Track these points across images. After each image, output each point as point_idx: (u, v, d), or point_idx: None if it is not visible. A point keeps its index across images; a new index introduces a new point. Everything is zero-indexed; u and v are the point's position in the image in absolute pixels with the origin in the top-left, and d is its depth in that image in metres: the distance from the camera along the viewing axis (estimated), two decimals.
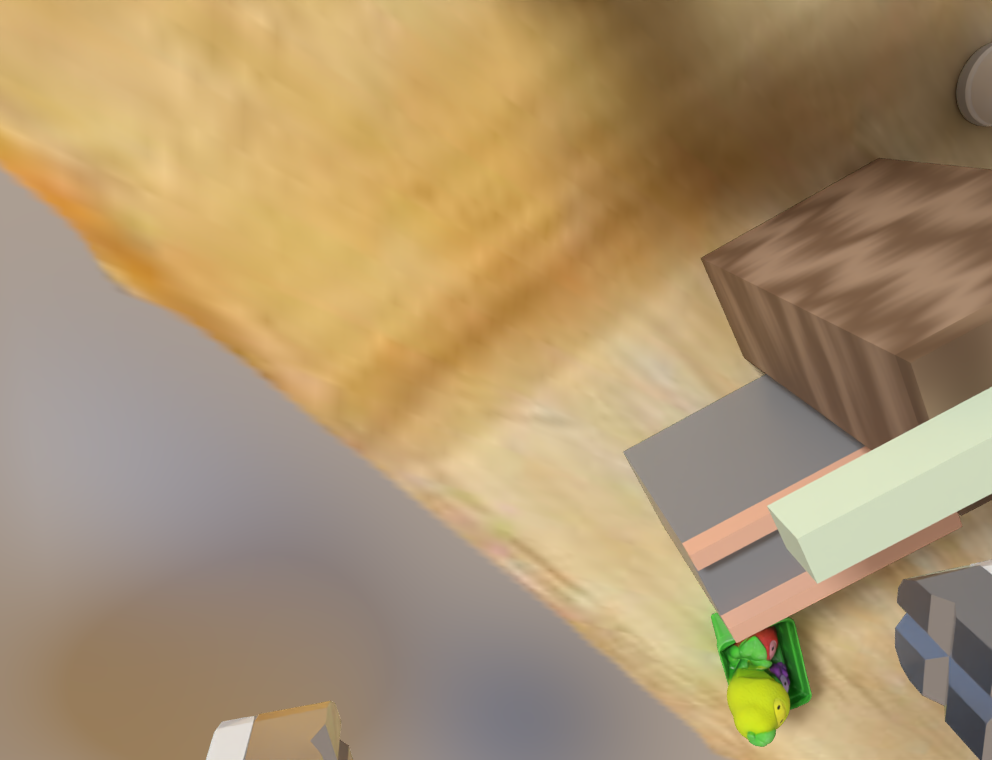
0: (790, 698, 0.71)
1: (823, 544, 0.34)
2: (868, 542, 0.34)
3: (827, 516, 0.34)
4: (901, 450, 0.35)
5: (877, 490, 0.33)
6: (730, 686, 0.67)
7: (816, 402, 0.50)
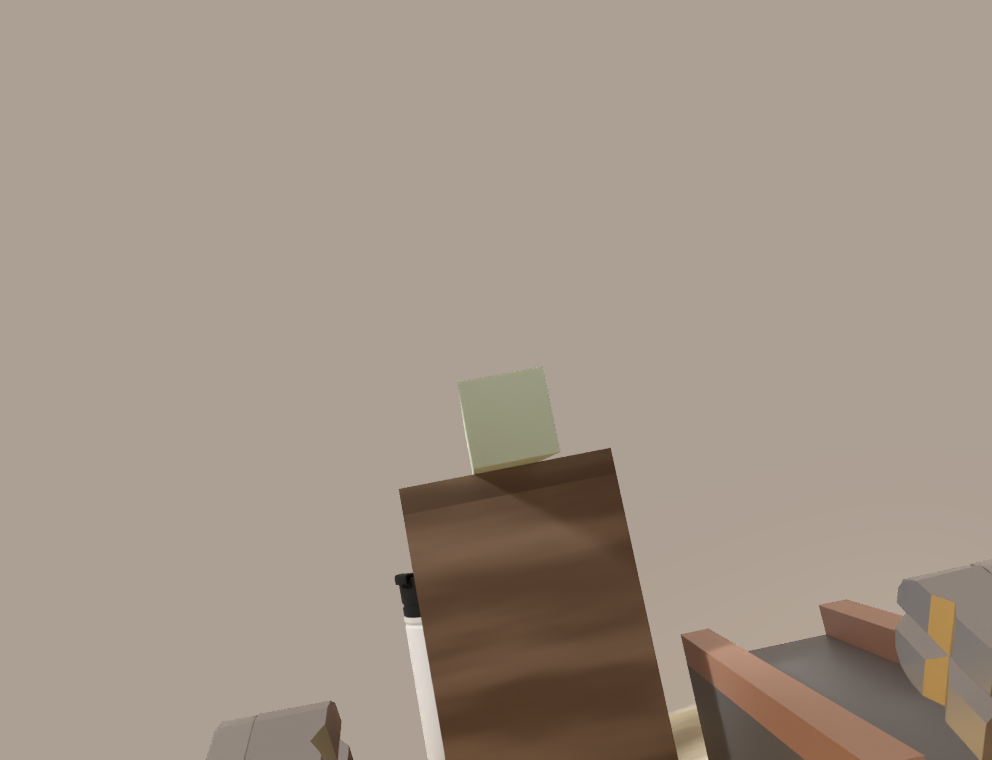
0: None
1: None
2: None
3: (460, 399, 0.26)
4: (469, 450, 0.31)
5: (461, 407, 0.29)
6: None
7: (655, 759, 0.31)
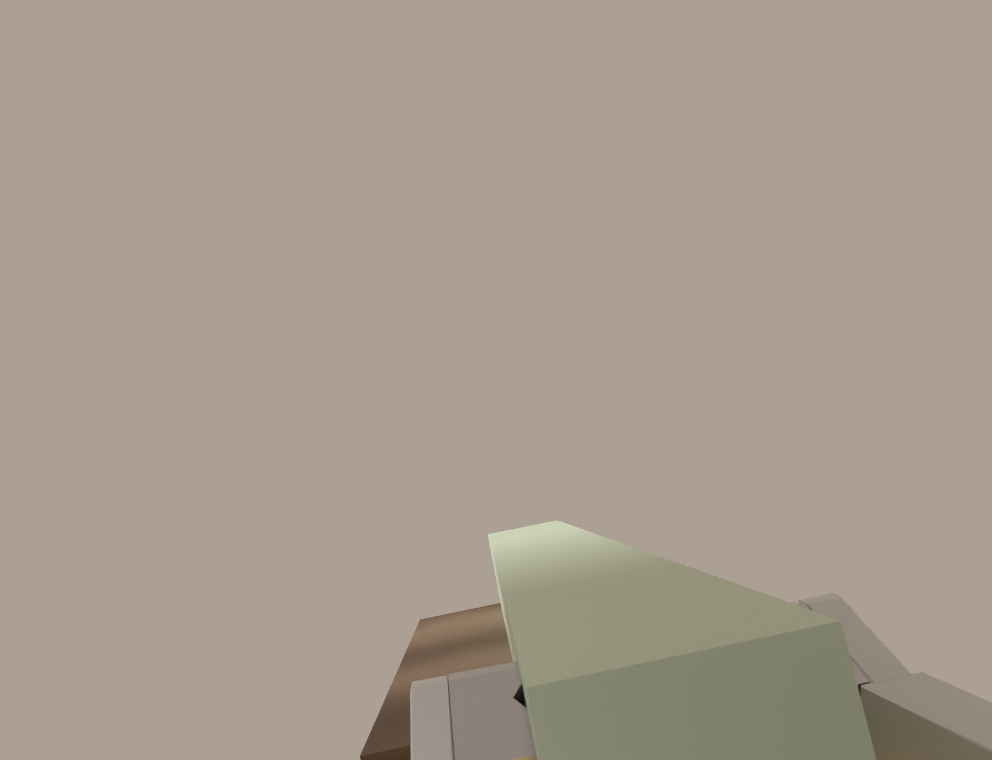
0: None
1: (613, 642, 0.08)
2: (670, 594, 0.10)
3: (522, 679, 0.08)
4: None
5: (511, 634, 0.11)
6: None
7: None
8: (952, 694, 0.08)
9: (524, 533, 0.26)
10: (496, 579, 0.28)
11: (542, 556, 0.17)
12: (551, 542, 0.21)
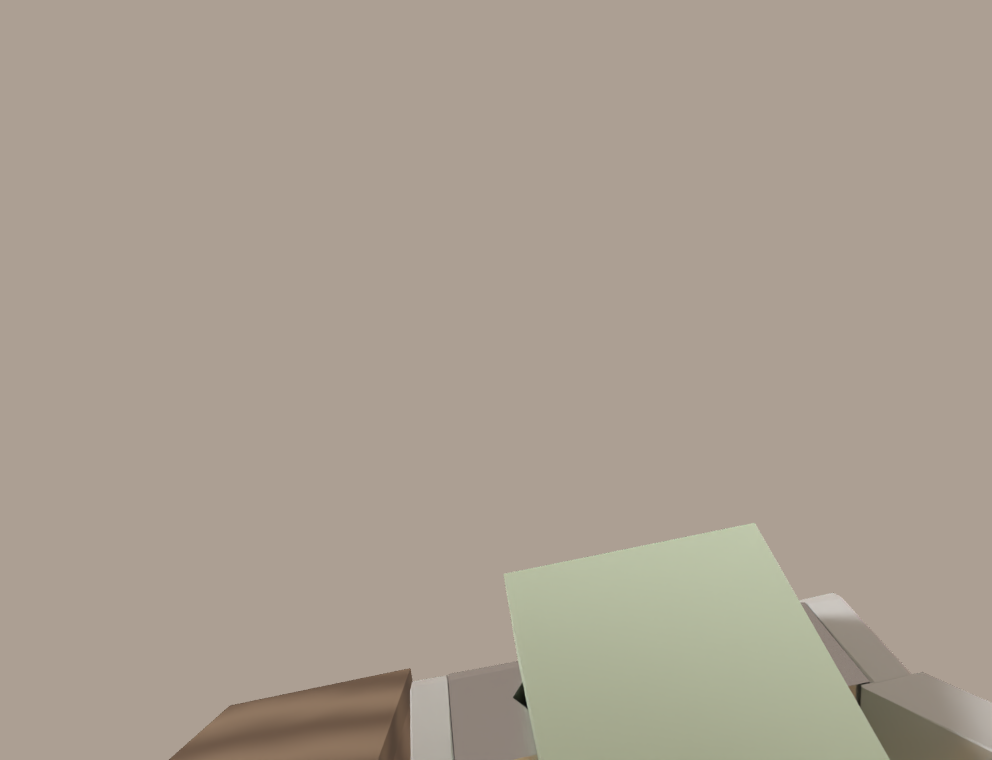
0: None
1: None
2: None
3: (522, 680, 0.09)
4: None
5: None
6: None
7: None
8: (952, 694, 0.08)
9: None
10: None
11: None
12: None
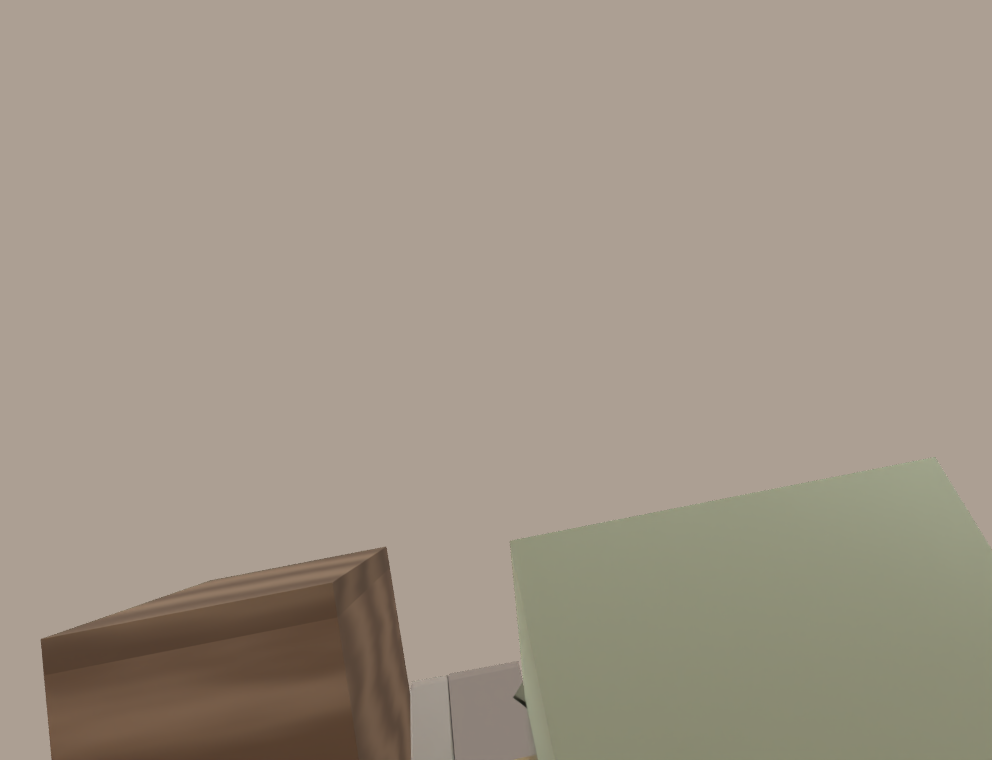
0: None
1: None
2: None
3: (525, 661, 0.06)
4: None
5: (530, 718, 0.08)
6: None
7: None
8: None
9: None
10: None
11: None
12: None
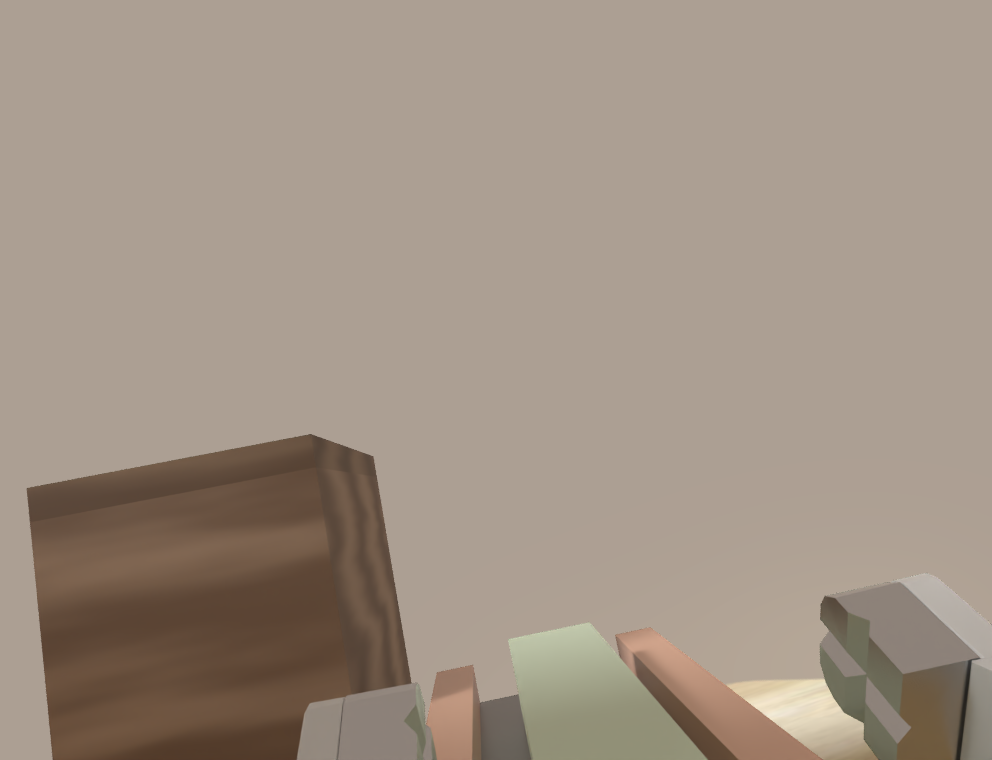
0: None
1: None
2: None
3: None
4: None
5: None
6: None
7: None
8: None
9: (555, 656, 0.22)
10: None
11: None
12: (601, 712, 0.16)
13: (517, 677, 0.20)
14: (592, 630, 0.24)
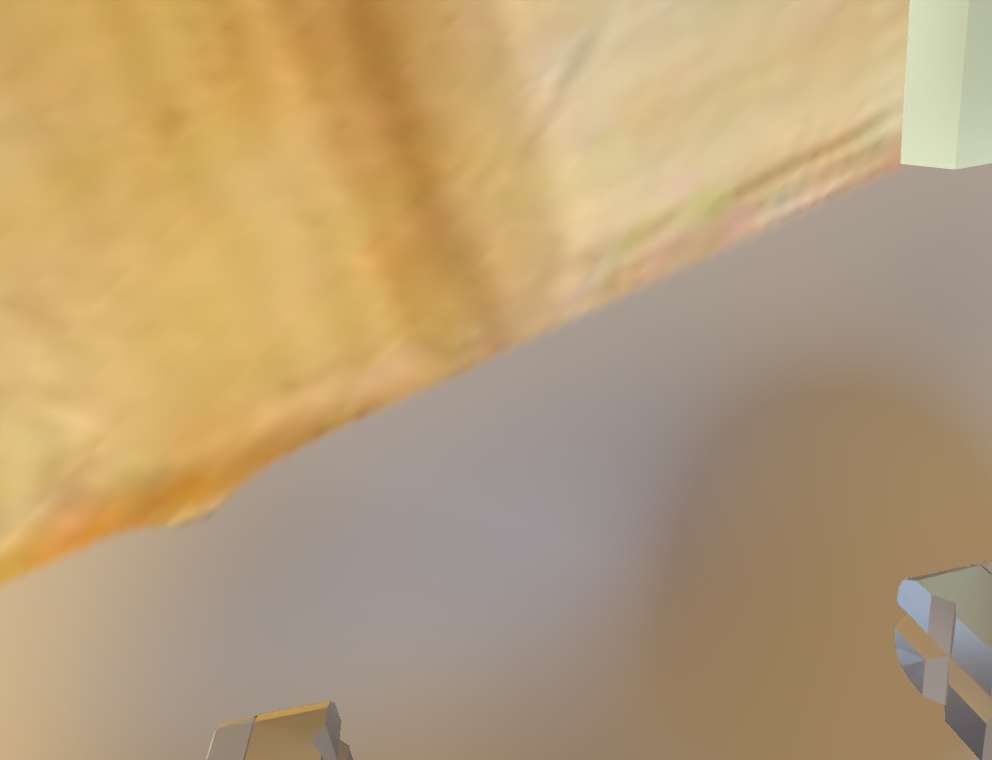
0: None
1: (984, 135, 0.25)
2: None
3: (952, 116, 0.25)
4: None
5: (958, 35, 0.24)
6: None
7: None
8: None
9: None
10: None
11: None
12: None
13: None
14: None
